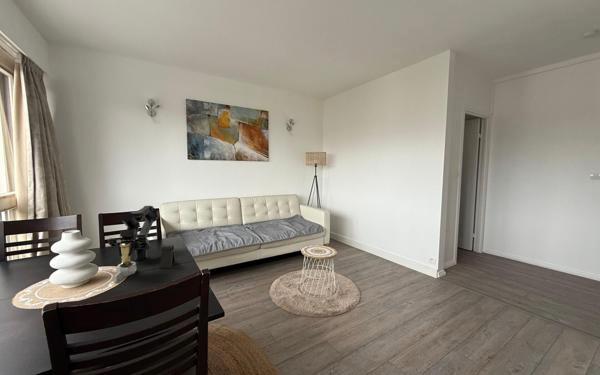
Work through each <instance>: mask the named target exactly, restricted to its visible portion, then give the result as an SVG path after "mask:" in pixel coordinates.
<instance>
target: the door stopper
mask: <svg viewBox="0 0 600 375" xmlns="http://www.w3.org/2000/svg"><path fill="white" fill-rule="evenodd" d="M160 251H161V252H160V253H161V254H160V261H159V262H160V263H159V264H160V265H159V269H172V267H173V266H174V265H175V264H176V263H177V258H176V254H175V246H174V244H172V245H162V246H161V249H160Z"/></svg>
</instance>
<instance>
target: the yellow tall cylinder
mask: <svg viewBox="0 0 600 375" xmlns="http://www.w3.org/2000/svg"><path fill="white" fill-rule="evenodd" d="M120 247H121V264H122V267H129V266H131V262H132V261H131V256H129V252H130V249H131V243H128V242H127V243H122V244H120Z"/></svg>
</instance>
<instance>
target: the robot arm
mask: <svg viewBox="0 0 600 375" xmlns="http://www.w3.org/2000/svg"><path fill="white" fill-rule="evenodd" d="M159 217H160V211H159V209H157V208H155V207H154V206H153V205H144V206H143V207H141V208H140V209H138V210H134V211H127V212H126V213H125V214H123V215H122V216H121V217H120V219H121V221H122V223H123V224H124V226H126V229H125V230H120V231H119V232H120V233H119V237H120V238H121V239H119V238H118V237H113V238H109V239H108V240H107V244H108V245H109V246H110V247H113V248H116V247H117V248H118V253H119V257H121V258H122V256H121V247H120V244H122V243H127V242H128V243H131V245H130V252H129V256H130V257H131V256H132V254H133V253H135V258H134V259H133V260H134V261H133V262H136V261H144V260H147V259H148V257H149V254H147V253H148V252H147V250H150V249H151V245H150V242H149V239H148V235H149V233H150V230H151V229H152V226H153V224H154V222H156V221H157V220H158V219H159ZM144 220H145V221H144ZM142 221H144V222H143V225H142V227H141V224H140V222H142ZM140 228H141V229H140ZM139 229H140V231H139Z"/></svg>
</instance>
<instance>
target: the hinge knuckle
mask: <svg viewBox="0 0 600 375" xmlns="http://www.w3.org/2000/svg"><path fill="white" fill-rule="evenodd" d="M115 269H116V274H115V275H113V282H115V283H117V282H118V281H120V280H121V279H122V278H123V277H128V276H130V275H134V274H135V273H136V272H137V262H136V261H131V266H129V267H122V263H119V264H118V265H117V266H116V268H115Z"/></svg>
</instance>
